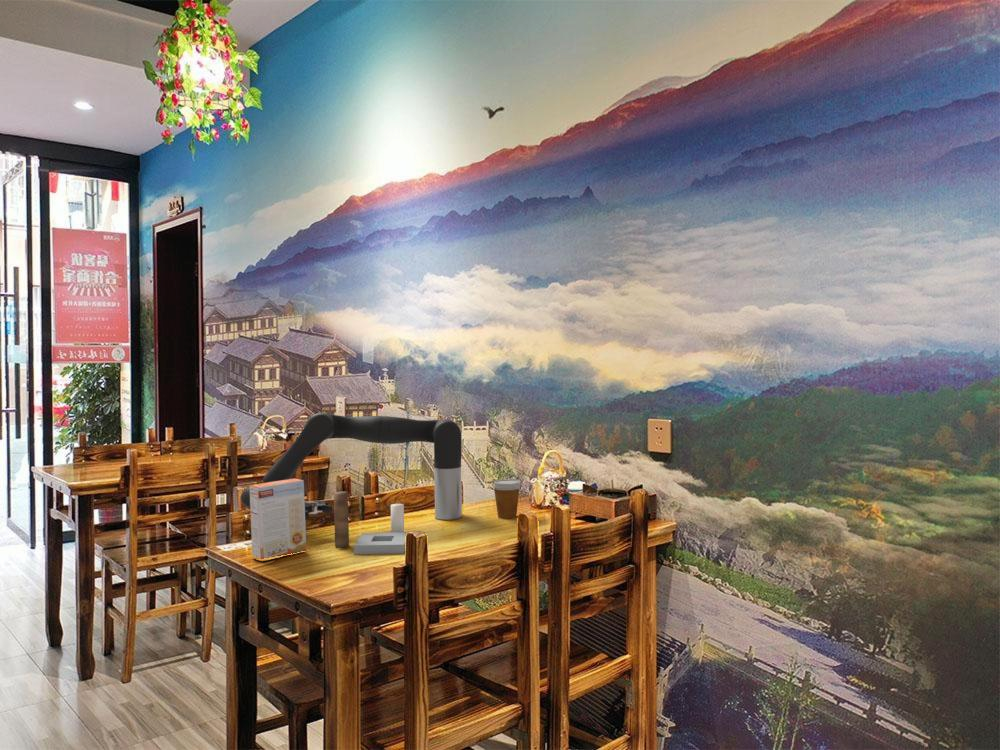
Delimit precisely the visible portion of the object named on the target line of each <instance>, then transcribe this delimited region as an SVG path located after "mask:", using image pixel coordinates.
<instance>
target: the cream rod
mask: <svg viewBox="0 0 1000 750" xmlns="http://www.w3.org/2000/svg"><path fill="white" fill-rule="evenodd" d="M404 508H405V504H404V503H393V504H390V533H395V532H405V509H404Z"/></svg>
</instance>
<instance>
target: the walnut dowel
mask: <svg viewBox="0 0 1000 750" xmlns="http://www.w3.org/2000/svg"><path fill="white" fill-rule="evenodd" d="M333 507H334V508H333V511H334V515H333V516H334V547H336V548H345V549H348V548H349V547H350V533H349V532H350V530H349V529H350V525H349V524H350V523H349V521H350V520H349V492H348V491H335V492H333ZM347 547H348V548H347ZM336 548H335V549H336Z"/></svg>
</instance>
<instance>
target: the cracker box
mask: <svg viewBox="0 0 1000 750" xmlns="http://www.w3.org/2000/svg"><path fill="white" fill-rule="evenodd" d="M248 488H249V489H250V509H249V510H250V528H251V529H250V530H251V553H252V555H253V556H255V557H258V558H260V559H264V558H269V557H275V556H281V555H287V554H291V553H292V554H293V553H297V552H301V551H306V552H307V531H306V530H307V529H306V527H307V526H306V519H305V502H306V501H305V481H304V480H303V479H298V478H295V477H294V478H290V479H288V480H281V481H274V482H268V483H264V482H262V483H257V484H251V485H249V487H248Z"/></svg>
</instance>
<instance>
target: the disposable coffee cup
mask: <svg viewBox="0 0 1000 750" xmlns="http://www.w3.org/2000/svg"><path fill="white" fill-rule="evenodd" d="M492 487H493V490H494V498H495V504H496V505H495V506H496V512H497V518H499V519H502V518H503V519H504V520H505V519H506V520H510V519H515V518H517V514H518V504H519V495H520V494H519V493H520V487H521V484H520V480H517V479H497V480H494V481H493V485H492Z"/></svg>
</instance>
